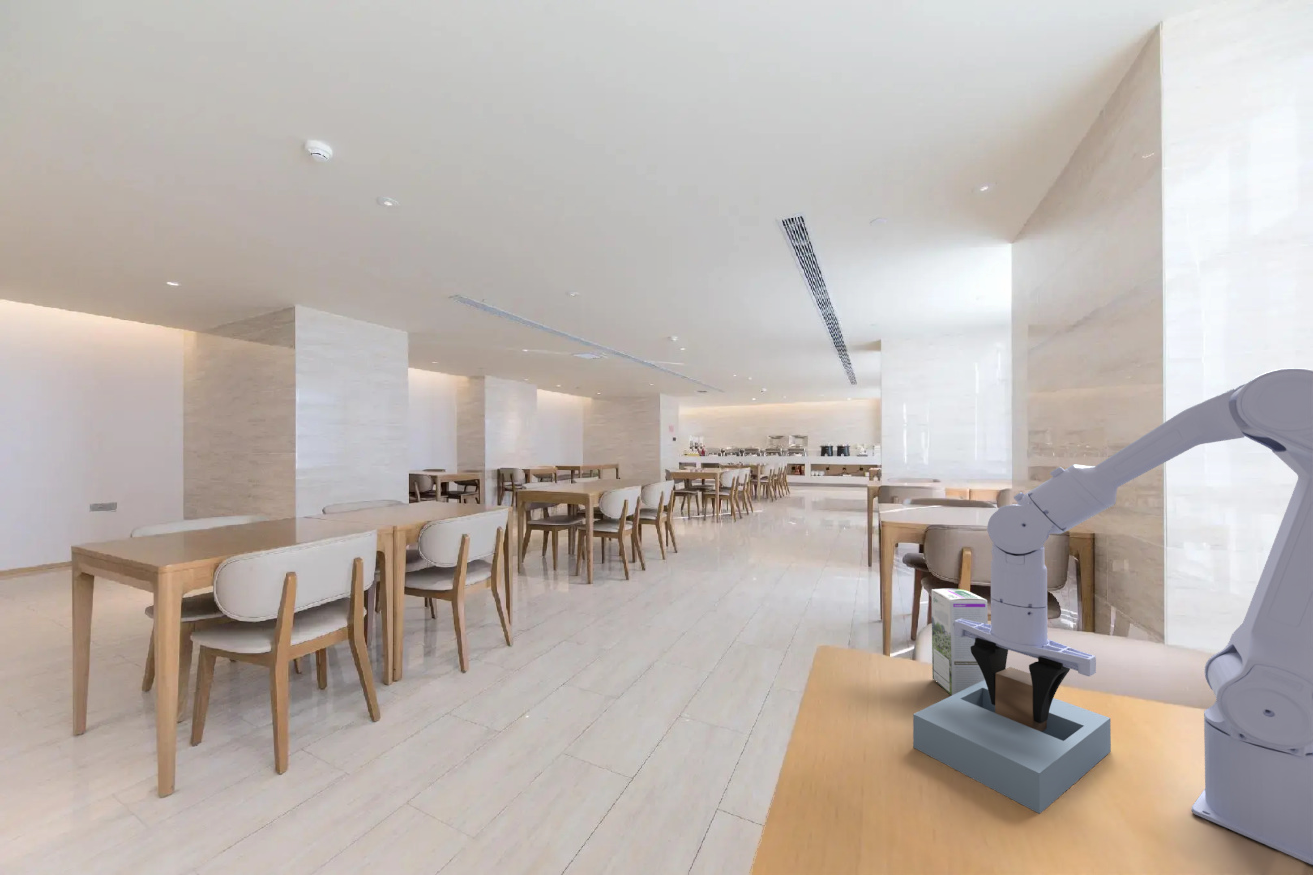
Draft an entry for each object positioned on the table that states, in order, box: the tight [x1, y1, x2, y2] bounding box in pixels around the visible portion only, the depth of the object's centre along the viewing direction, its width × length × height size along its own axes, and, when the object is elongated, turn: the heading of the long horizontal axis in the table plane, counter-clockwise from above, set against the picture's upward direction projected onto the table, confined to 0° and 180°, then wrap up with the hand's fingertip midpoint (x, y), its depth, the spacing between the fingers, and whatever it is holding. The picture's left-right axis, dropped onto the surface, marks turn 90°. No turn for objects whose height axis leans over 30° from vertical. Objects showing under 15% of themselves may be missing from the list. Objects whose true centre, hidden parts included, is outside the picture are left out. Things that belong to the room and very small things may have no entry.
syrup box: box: [930, 588, 989, 696], centre depth 76 cm, size 6×6×14 cm
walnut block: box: [995, 666, 1047, 732], centre depth 62 cm, size 4×4×6 cm
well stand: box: [912, 680, 1112, 814], centre depth 60 cm, size 13×20×4 cm, turn 122°
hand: (1018, 711), depth 62 cm, fingers closed on walnut block, 4 cm apart
